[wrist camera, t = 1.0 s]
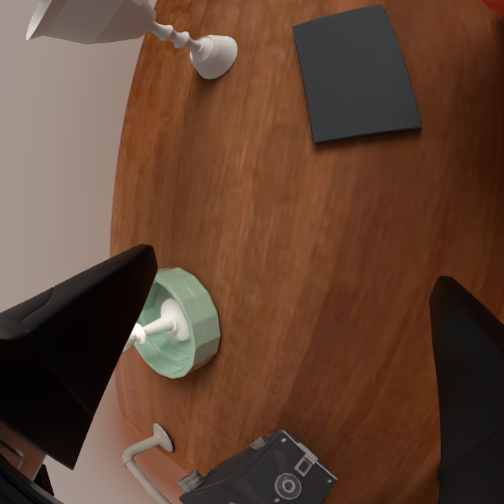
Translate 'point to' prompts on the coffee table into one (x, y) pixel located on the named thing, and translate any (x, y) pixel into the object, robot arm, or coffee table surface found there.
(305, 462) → the camera
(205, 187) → the coffee table surface
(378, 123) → the mat
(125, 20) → the chalice
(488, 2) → the molecule
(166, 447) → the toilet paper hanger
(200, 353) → the bowl
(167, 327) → the chess piece
